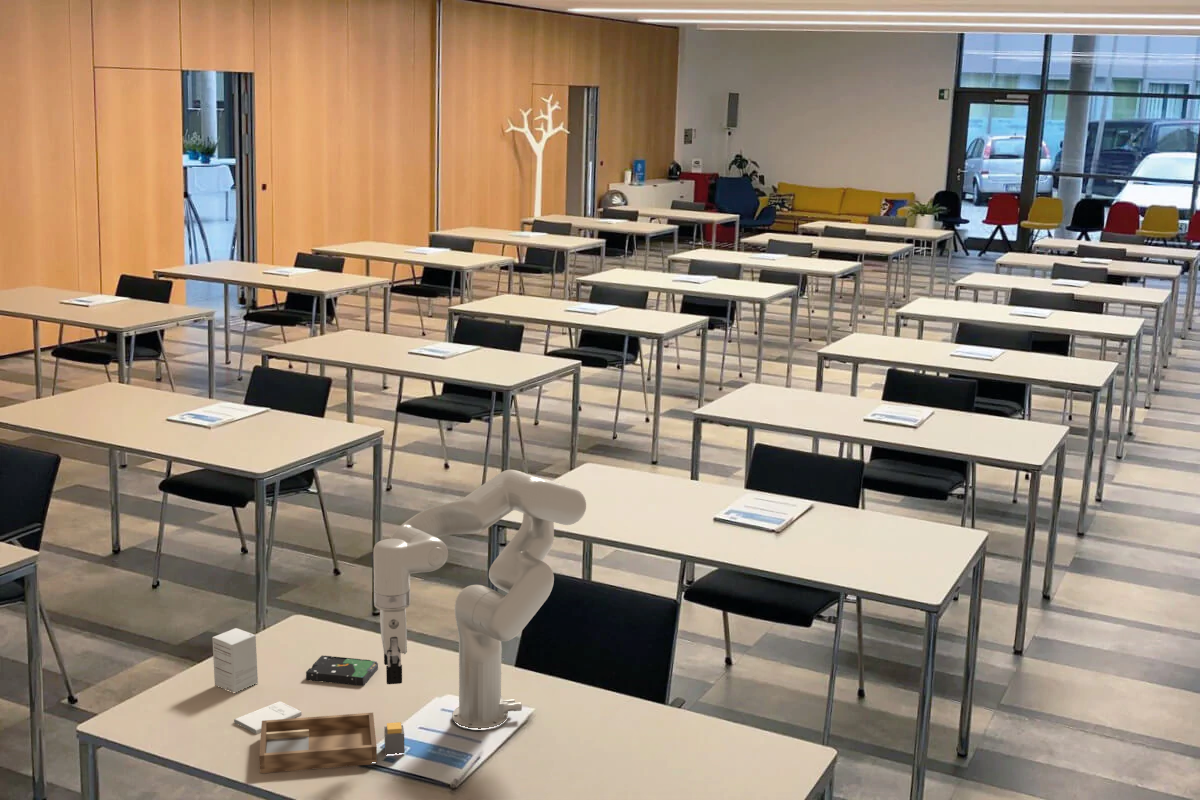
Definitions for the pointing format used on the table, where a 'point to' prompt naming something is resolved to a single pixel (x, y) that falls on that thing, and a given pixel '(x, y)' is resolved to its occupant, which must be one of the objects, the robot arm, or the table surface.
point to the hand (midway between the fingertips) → (393, 673)
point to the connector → (394, 738)
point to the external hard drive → (267, 716)
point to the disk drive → (342, 670)
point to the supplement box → (235, 660)
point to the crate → (317, 742)
